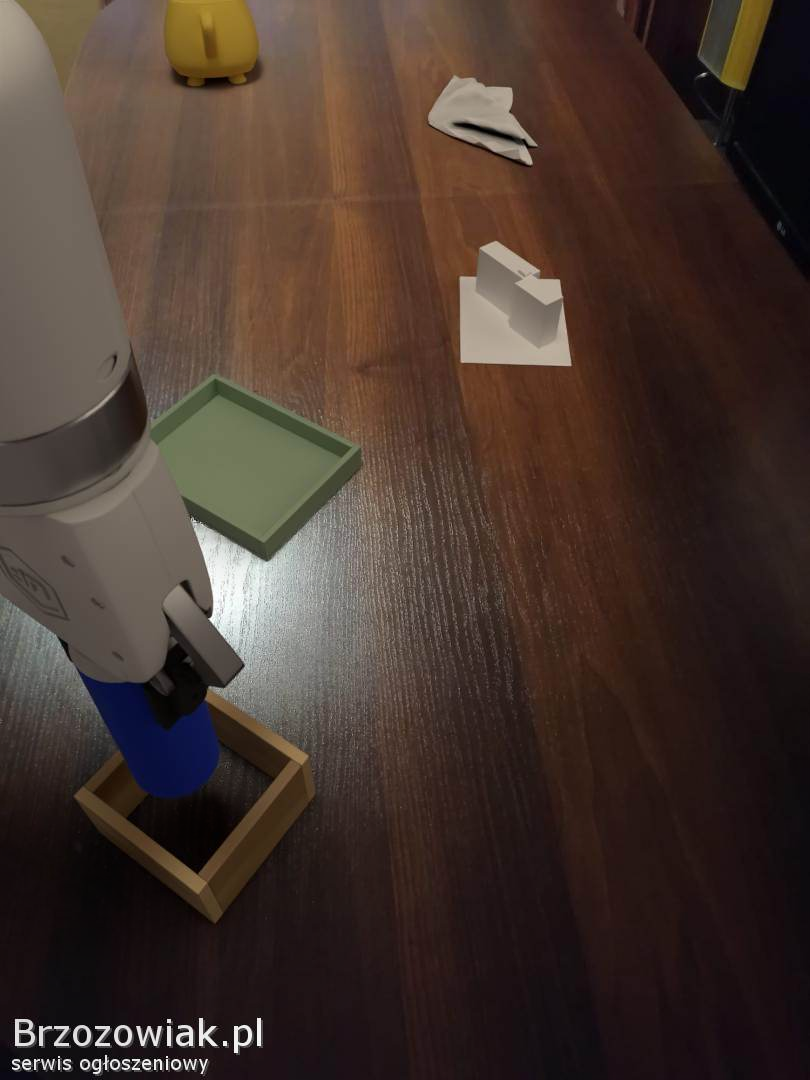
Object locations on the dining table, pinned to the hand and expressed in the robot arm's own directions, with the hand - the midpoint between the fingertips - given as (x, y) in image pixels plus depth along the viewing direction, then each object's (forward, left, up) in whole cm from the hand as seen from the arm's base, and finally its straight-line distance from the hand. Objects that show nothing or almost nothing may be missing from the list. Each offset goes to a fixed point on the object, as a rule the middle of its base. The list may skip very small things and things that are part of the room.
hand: (140, 672), depth 43 cm
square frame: (0, 0, -18) cm, 18 cm away
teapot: (-76, +85, -18) cm, 115 cm away
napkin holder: (-10, +58, -18) cm, 62 cm away
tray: (-19, +25, -18) cm, 36 cm away
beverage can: (0, 0, -11) cm, 11 cm away
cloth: (-36, +94, -18) cm, 102 cm away
